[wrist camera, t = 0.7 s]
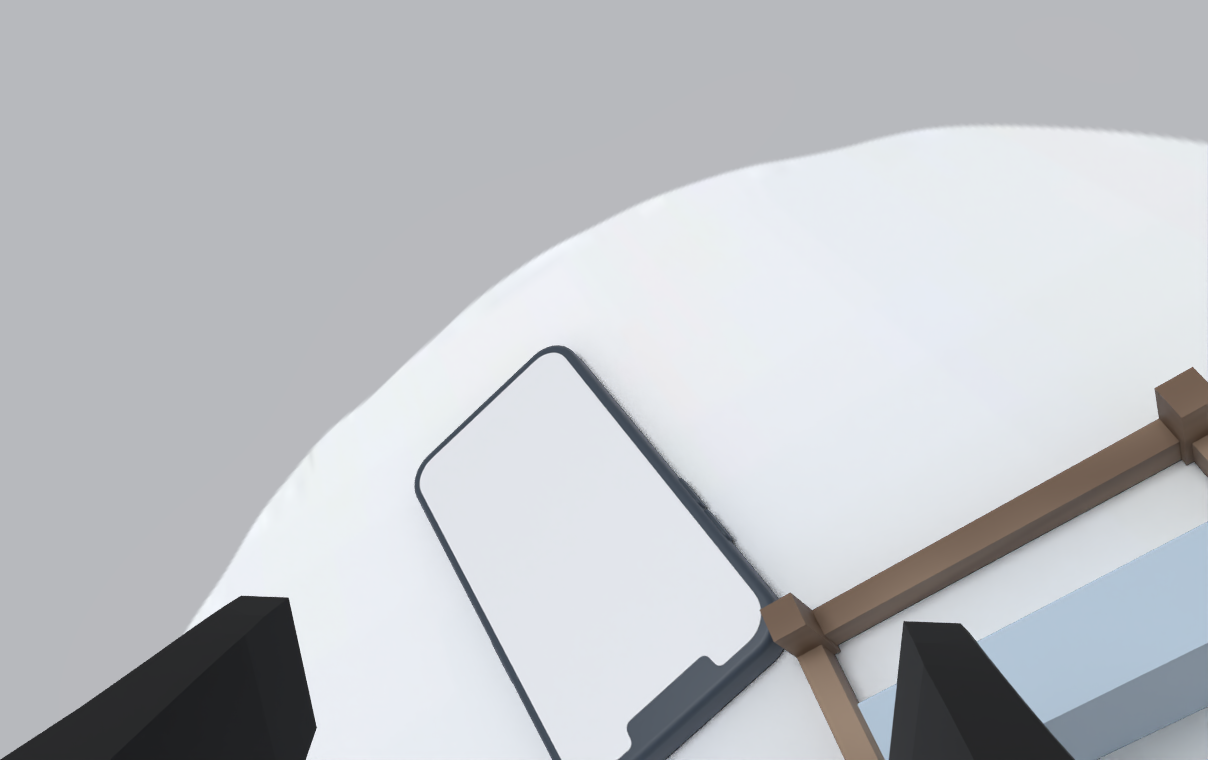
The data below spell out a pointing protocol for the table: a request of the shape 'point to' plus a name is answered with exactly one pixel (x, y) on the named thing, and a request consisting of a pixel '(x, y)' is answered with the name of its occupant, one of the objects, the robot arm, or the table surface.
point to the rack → (981, 551)
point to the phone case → (593, 567)
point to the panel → (1105, 654)
